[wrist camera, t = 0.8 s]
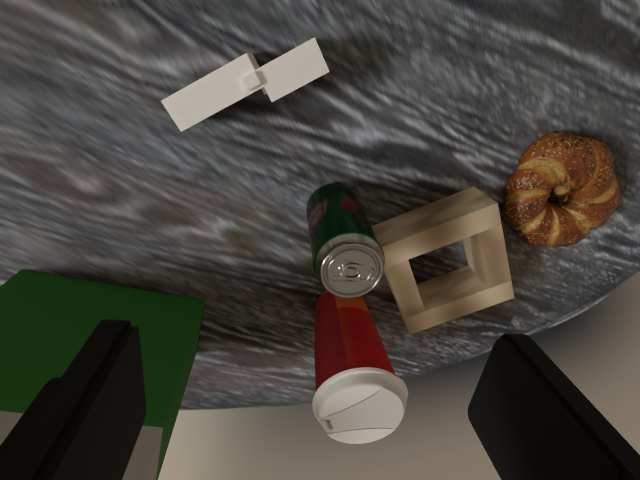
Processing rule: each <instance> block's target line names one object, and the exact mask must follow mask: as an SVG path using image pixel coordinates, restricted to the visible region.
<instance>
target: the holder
mask: <svg viewBox="0 0 640 480" xmlns="http://www.w3.org/2000/svg"><path fill="white" fill-rule="evenodd" d="M371 227H372V229H373V231H374V233H375V235H376V237H377V239H378V241H379V243H380V245H381V247H382V249H383V252H384V256H385V264H384V269H383V270H384V272H385V275H386V278H387V280H388V283H389V286H390V288H391V291H392V294H393V297H394V299H395V302H396V305H397V307H398V310H399V312H400V314H401V317H402V319H403V321H404V323H405V326H406V328H407V330H408V333H409V335H411V334H414V333H416V332H419V331H422V330H425V329H428V328H431V327H433V326H436V325H439V324H442V323H445V322H448V321H450V320H453V319H456V318H459V317H462V316H464V315H467V314H470V313H473V312H476V311H479V310H481V309H484V308H487V307H490V306H493V305H496V304H498V303H501V302H504V301H507V300H510V299H513V298H514V293H513V287H512V281H511V275H510V270H509V264H508V258H507V253H506V247H505V241H504V236H503V230H502V224H501V218H500V213H499V207H498V203H497V202H496V201H494V200H493V199H492V198H490V197H489V196H487V195H486V194H484V193H483V192H482V191H480V190H479V189H477V188H476V187H475V186H473V187H471V188H468V189H466V190H463V191H461V192H458V193H455V194H453V195H450V196H448V197H445V198H443V199H440V200H437V201H435V202H432V203H430V204H427V205H425V206H422V207H419V208H417V209H414V210H412V211H409V212H407V213H404V214H401V215H399V216H396V217H394V218H391V219H389V220H386V221H383V222H381V223H378V224H376V225H373V226H371ZM459 240H463V244H464V248H465V252H466V257H467V261H468V265H467V266H465V267H462V268H459V269H457V270H454V271H451V272H448V273H446V274H443V275H440V276H437V277H435V278H432V279H429V280H427V281H424V282H421V283H418V284H416V282H415V279H414V276H413V273H412V270H411V267H410V264H409V261H408V260H409V259H411V258H414V257H417V256H419V255H422V254H425V253H427V252H430V251H433V250H435V249H438V248H441V247H443V246H446V245H449V244H451V243H454V242H457V241H459Z"/></svg>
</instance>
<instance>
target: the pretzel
mask: <svg viewBox="0 0 640 480" xmlns="http://www.w3.org/2000/svg"><path fill="white" fill-rule="evenodd" d="M614 163H615V162H614V155H613V154H612V153H611V151H610V149H609V147H607V146H606V145H605V144H603V143H601V141H600V142H599V141H597V140H596V139H592V138H588V137H579V136H576V135H574V134H569V133H565V132H551V133H549V134H546V135H544V136H542V137H540V138H539V139H537V140H536V141H535V142H533V143H532V144H531V145H530V146H529V147H528V148H527V149H526V150H525V151H524V153H523V154H522V156H521V158H520V160H519V162H518V165H517V170H516V171H515V172H514V173H513V174H512V175H511V176H510V177H509V178H508V179H507V182H506V185H505V189H504V190H505V198H506V200H507V203H506V204H505V205H504V207H503V212H502V214H503V218H504V219H505V221H506V224H508V225H509V226H510V227H512V228H513V229H514V230H517V231H518V236H519V237H520V238H521V240H523V241H525V243H529V244H531V245H533V246H534V245H535V246H536V245H538V246H559V247H560V246H565V247H567V246H569V245H574V244H576V243H578V242H579V241H581V240H582V239H584V238H585V237H586V236H587V235H588V234H589V232H590V231H591V229H590V228H591V227H595V226H601V225H603V224H604V223H605V222H606V220H607V219H608V218H609V217H610V216H611V215H612V214H613V213H614V211H615V210H616V207H617V206H618V205H619V202H620V200H621V189H620V185H619V182H618V180H617V177H616V176H615V174H614V171H615V168H614ZM550 194H552V195H553V196H556V197H559V198H557V199H558V200H557V203H550V202H548V201H547V200H548V198H549V196H550Z"/></svg>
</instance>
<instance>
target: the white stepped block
mask: <svg viewBox="0 0 640 480" xmlns="http://www.w3.org/2000/svg"><path fill="white" fill-rule="evenodd" d="M328 72H329V70H328V67H327V65H326V62H325V60H324V58H323V55H322V53H321V51H320V48H319V46H318V44H317V41H316V39H315V37H314V38H312V39H311V40H309V41H307V42H305V43H303V44H301V45H300V46H298V47H296V48H294V49H292V50H291V51H289V52H287V53H285V54H283V55H281V56H280V57H278V58H276V59H274V60H272V61H271V62H269V63H267V64H265V65H263V66H261V67H259V65H258V63H257V61H256V59H255V57H254V55H253V53H246V54H244V55H242V56H240V57H239V58H237V59H235V60H233V61H231V62H230V63H228V64H226V65H224V66H223V67H221V68H219V69H217V70H215V71H214V72H212V73H210V74H208V75H206V76H205V77H203V78H201V79H199V80H198V81H196V82H194V83H192V84H190V85H189V86H187V87H185V88H183V89H181V90H180V91H178V92H176V93H174V94H172V95H171V96H169V97H167V98H165V99H164V100H162V101H161V102H162V104H163V105H164V107H165V108H166V110H167V111H168V113H169V114H170V116H171V117H172V119H173V120H174V122H175V123H176V125H177V127H178V128H179V130H180V131H183V130H185V129H187V128H189V127H191V126H193V125H194V124H196V123H198V122H200V121H202V120H204V119H206V118H207V117H209V116H211V115H213V114H215V113H217V112H218V111H220V110H222V109H224V108H226V107H228V106H230V105H231V104H233V103H235V102H237V101H239V100H241V99H242V98H244V97H246V96H248V95H250V94H252V93H254V92H255V91H257V90H259V89H262V91H263V93H264V95H265V94H268V96H269V98H270V100H271V102H274V101H275V100H277V99H279V98H281V97H283V96H285V95H287V94H289V93H291V92H292V91H294V90H296V89H298V88H300V87H302V86H304V85H306V84H307V83H309V82H311V81H313V80H315V79H317V78H319V77H321V76H322V75H324V74H326V73H328Z"/></svg>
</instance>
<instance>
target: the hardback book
mask: <svg viewBox="0 0 640 480" xmlns="http://www.w3.org/2000/svg"><path fill="white" fill-rule="evenodd" d="M204 305H205V300H199V299H193V298H187V297H181V296H175V295H169V294H163V293H157V292H151V291H145V290H139V289H133V288H128V287H122V286H116V285H110V284H104V283H98V282H92V281H86V280H80V279H74V278H68V277H62V276H56V275H50V274H45V273H39V272H33V271H27V270H20V271H19V272H18V273H17V274H15V275H14V276H13V277H12V278H10V279H9V280H8V281H7V282H5V283H4V284H3V285H2V286H0V445H1V444H2V442H3V441H4V440H5V438H6V437H7V436H8V434H9V433H10V431H11V430H12V429H13V427H14V426H15V425H16V423H17V422H18V421H19V419H20V418H21V416H22V415H23V414H24V412H25V411H26V410H27V408H28V407H29V405H30V404H31V403H32V401H33V400H34V399H35V397H36V396H37V395H38V393H39V392H40V390H41V389H42V388H43V386H44V385H45V384H46V383H47V382H48V381H49V380H51V379H52V378H54V377H62V375H63V374H64V372H65V371H66V369H67V368H68V367H69V365H70V364H71V362H72V361H73V359H74V358H75V357H76V355H77V354H78V352H79V351H80V349H81V348H82V346H83V345H84V344H85V342H86V341H87V339H88V338H89V336H90V335H91V334H92V332H93V331H94V329H95V328H96V326H97V325H98V323H99V322H100V321H101V320H103V319H111V320H129V321H130V322H131V326H132V327H138V329H139V335H140V345H141V356H142V366H143V376H144V386H145V396H146V416H145V420H144V423H143V426H142V428H141V431H140V434H139V436H138V439H137V442H136V444H135V447H134V450H133V452H132V455H131V458H130V460H129V463H128V466H127V468H126V471H125V474H124V476H123V479H122V480H158V477H159V473H160V470H161V467H162V464H163V461H164V457H165V454H166V450H167V447H168V444H169V441H170V438H171V434H172V431H173V428H174V424H175V421H176V418H177V415H178V411H179V408H180V405H181V401H182V398H183V395H184V392H185V388H186V385H187V382H188V379H189V375H190V372H191V369H192V365H193V362H194V359H195V356H196V352H197V347H198V341H199V335H200V329H201V323H202V317H203V311H204Z"/></svg>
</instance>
